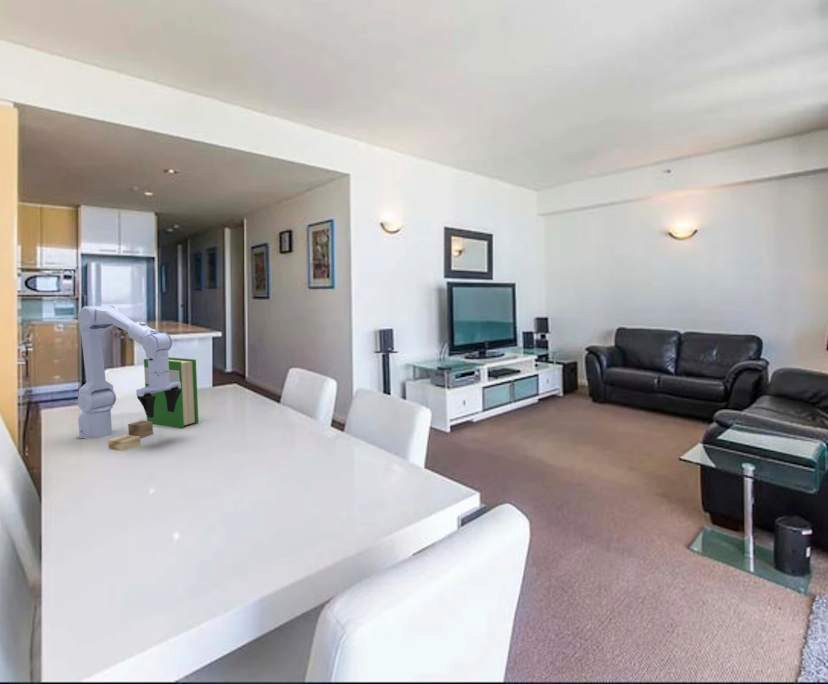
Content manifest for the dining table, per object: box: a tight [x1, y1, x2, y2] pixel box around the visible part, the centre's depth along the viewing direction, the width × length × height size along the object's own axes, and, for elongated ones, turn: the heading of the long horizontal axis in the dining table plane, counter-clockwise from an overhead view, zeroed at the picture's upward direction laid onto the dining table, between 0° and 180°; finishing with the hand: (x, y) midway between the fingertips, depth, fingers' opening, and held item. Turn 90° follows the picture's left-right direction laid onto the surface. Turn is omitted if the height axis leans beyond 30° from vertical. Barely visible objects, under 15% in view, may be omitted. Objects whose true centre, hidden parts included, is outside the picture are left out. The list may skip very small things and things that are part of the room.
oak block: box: [107, 434, 142, 452], centre depth 147 cm, size 6×6×3 cm
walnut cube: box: [127, 420, 154, 439], centre depth 160 cm, size 5×5×5 cm
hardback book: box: [143, 356, 199, 429], centre depth 176 cm, size 18×7×24 cm, turn 67°
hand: (160, 414), depth 151 cm, fingers open, 7 cm apart
